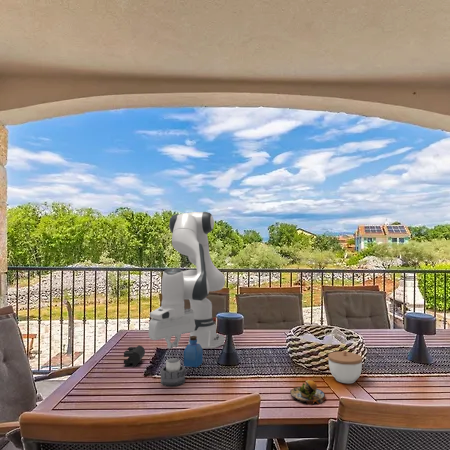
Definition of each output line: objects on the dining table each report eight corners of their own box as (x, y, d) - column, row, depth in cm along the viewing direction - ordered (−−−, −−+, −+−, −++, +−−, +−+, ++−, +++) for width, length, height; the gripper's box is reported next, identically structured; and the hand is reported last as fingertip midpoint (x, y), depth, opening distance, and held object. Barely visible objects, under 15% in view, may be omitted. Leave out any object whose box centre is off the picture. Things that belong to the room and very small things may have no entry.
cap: (174, 370, 146) (174, 356, 147) (183, 373, 143) (183, 359, 143) (163, 374, 142) (163, 360, 143) (171, 377, 139) (171, 363, 139)
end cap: (139, 367, 160) (139, 351, 160) (123, 367, 160) (123, 351, 160) (145, 360, 170) (145, 345, 170) (129, 360, 170) (129, 345, 170)
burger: (292, 389, 135) (291, 368, 135) (325, 393, 132) (325, 372, 132) (288, 403, 123) (287, 380, 124) (324, 407, 120) (324, 384, 120)
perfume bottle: (183, 365, 161) (183, 337, 162) (189, 361, 167) (189, 334, 167) (196, 367, 159) (196, 339, 160) (202, 363, 165) (202, 335, 165)
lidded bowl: (325, 374, 150) (324, 346, 150) (356, 374, 149) (356, 346, 150) (333, 386, 137) (332, 355, 138) (367, 386, 137) (366, 356, 137)
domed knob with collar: (174, 375, 149) (174, 363, 149) (189, 381, 142) (189, 368, 143) (155, 382, 142) (155, 368, 142) (170, 388, 136) (170, 374, 136)
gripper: (188, 306, 153) (188, 340, 153) (146, 313, 139) (146, 351, 138) (198, 308, 149) (198, 343, 148) (156, 315, 134) (156, 354, 134)
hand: (172, 347), depth 143 cm, fingers closed
